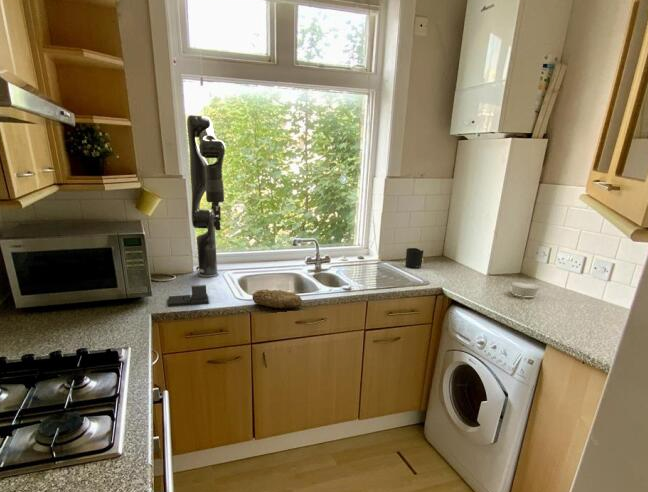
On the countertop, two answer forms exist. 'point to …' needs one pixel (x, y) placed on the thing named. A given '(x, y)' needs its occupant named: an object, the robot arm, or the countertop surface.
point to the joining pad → (197, 301)
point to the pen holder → (414, 258)
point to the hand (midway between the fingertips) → (217, 228)
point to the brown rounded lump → (277, 299)
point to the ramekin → (524, 289)
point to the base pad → (178, 300)
